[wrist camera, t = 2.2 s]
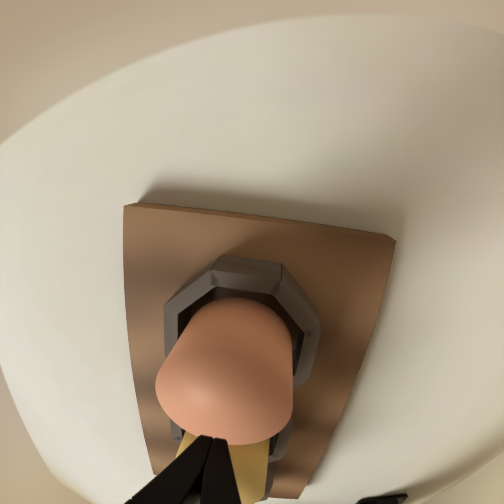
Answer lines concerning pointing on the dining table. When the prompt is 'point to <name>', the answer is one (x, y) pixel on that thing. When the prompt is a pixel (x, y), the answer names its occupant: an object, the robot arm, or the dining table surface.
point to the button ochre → (244, 467)
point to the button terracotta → (230, 373)
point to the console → (265, 292)
